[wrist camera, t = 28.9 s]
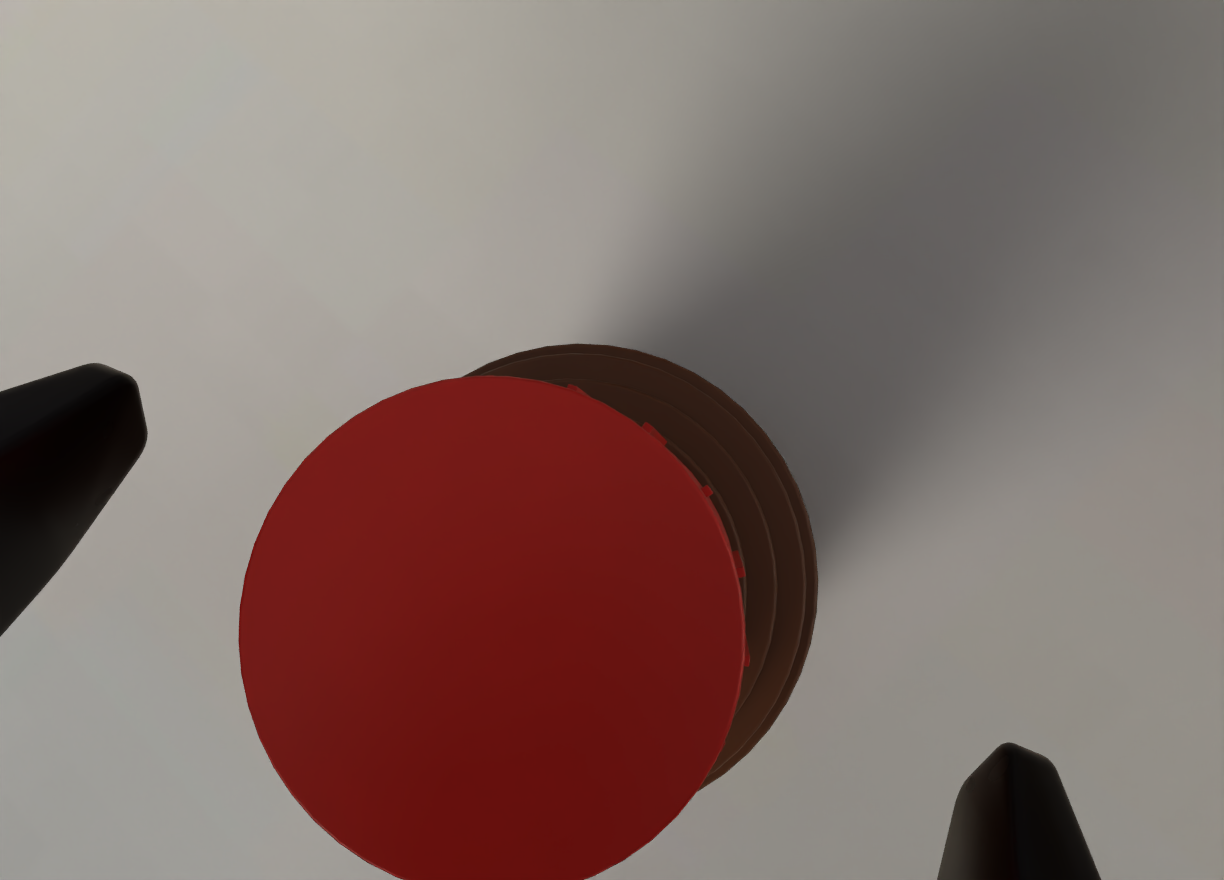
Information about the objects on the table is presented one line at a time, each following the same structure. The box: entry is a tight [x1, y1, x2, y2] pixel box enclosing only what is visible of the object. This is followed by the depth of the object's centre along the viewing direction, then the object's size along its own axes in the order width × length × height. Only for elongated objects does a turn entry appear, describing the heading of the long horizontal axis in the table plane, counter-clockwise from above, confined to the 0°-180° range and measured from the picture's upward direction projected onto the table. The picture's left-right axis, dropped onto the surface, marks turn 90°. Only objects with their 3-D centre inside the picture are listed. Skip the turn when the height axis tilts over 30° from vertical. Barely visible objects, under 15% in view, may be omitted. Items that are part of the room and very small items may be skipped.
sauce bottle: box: [461, 344, 818, 791], centre depth 14 cm, size 6×6×11 cm
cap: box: [239, 375, 750, 880], centre depth 9 cm, size 4×4×3 cm
